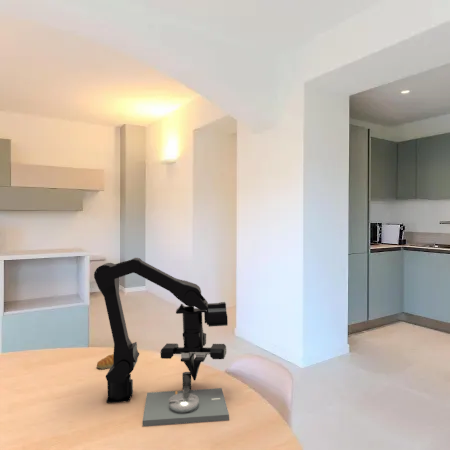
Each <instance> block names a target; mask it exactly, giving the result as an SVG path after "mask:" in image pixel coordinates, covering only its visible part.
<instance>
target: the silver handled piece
mask: <svg viewBox="0 0 450 450" xmlns="http://www.w3.org/2000/svg"><path fill="white" fill-rule="evenodd" d="M181 374H182V375H181V376H182V390H183V393H179V394H176V395H173V396H172V397H170V399H169V408H170V409H171V410H172V411H174V412H178V413H186V412H191V411H193V410H195V409H197V408H198V406H199V398H198V396H196V395H195V394H191V393H189V390H192V375H191V373H190V371H183V372H182V373H181Z"/></svg>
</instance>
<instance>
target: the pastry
mask: <svg viewBox="0 0 450 450" xmlns="http://www.w3.org/2000/svg"><path fill="white" fill-rule="evenodd" d="M113 354H114V353H112V354H109V355H107V356H106V357H104V358H102V359H100V360H99V361H98V362H97V363H96V368H98V369H101V370H107V369H106V368H108V369H110V368H111V367H112V365H113V364H114V363H113Z"/></svg>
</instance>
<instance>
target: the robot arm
mask: <svg viewBox="0 0 450 450" xmlns="http://www.w3.org/2000/svg"><path fill="white" fill-rule="evenodd" d="M93 273H94V274H93V277H94V280H95V283H96V286H97V289H98V290H99V291H100V293H101V294H102V296H103V298H104V302H105V308H106V312H107V317H108V321H109V327H110V331H111V334H112V339H113V353H112V354H113V363H114V364H113V365H112V367H111V368H109V369H108V371H107V373H106V375H105V379H106V382H107V397H106V401H105V402H106V403H107V404H112V403H114V404H115V403H128V402H130V401H131V398H132V397H133V394H134V379H133V378H132V376H131V373H132V372H133V370H134V369H135V367H136V364H137V363H138V360H139V357H140V353H139V351H138V343H137V341H135V342H132V341H131V339H130V338H129V337H130V336H129V333H128V329H127V324H126V323H127V322H126V320H125V315H124V310H123V305H122V300H121V296H120V278H121V277H125V276H127V275H130V274H136V275H138V276H140V277H142V278H144V279H145V280H147V281H149V282H151V283H153V284H155V285H157V286H159V287H161V288H163V289H164V290H166V291H169V292H170V293H171V294H172V295H173V296H174V297H175V298H176V299H177V300H179V301H180V302H181V303H180V305H179V306H178V308H176V310H175V314H182V340H183V346H179V344H178V343H169V342H168V343H166V344H165V345H164V346H163V347H162V348H161V349H160V352H159V353H160V358H161V360H162V359H167V360H168V359H169V360H171V359H172V358H173V356H175V355H181V358H180V362H183V363H184V364H185V366H186V368H187V369H188V372H190V373H191V379H193V381H195V382H196V379H197V377H198V373H199V369H200V365H201V363H203V362H205V360H206V359H207V356H208V355H209V357H210V358H211V359H212V360H224V359H225V357H226V355H227V346H226V344H225V343H212V344H211V347H205V346H206V345H207V333H205V332H204V328H203V316H204V324H206V325H207V326H208V327H210V328H211V327H212V328H213V327H224V326H225V327H226V326H228V323H229V322H228V312H227V303H226V302H225V301H222V302H221V301H220V302H214V303H212V302H211V303H208V301H207V299H206V298H205V297H204V296H203V295H202V290H201V287H200V286H199V285H198V284H197V283H193V282H191V281H188V280H183V279H179V278H176V277H175V276H172V275H171V274H168V273H166V272H164V271H163V270H160V269H158V268H157V267H155V266H153V265H151V264H149V263H147V262H145V261H144V260H143V259H142V258H139V257H133V258H131V259H130V260H125V261H122V262H118V263H113V262H106V263H104V264H102V265H99V266H98V267H96V269H95V270H94V272H93ZM203 313H204V314H203ZM131 378H132V379H131Z"/></svg>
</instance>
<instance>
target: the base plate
mask: <svg viewBox="0 0 450 450" xmlns="http://www.w3.org/2000/svg"><path fill="white" fill-rule="evenodd" d="M179 393H183V389H182V390H167V391H151V392H146V397H145V403H144V410H143V414H142V415H143V416H142V427H157V426H168V425H169V426H171V425H182V424H183V425H184V424H185V425H186V424H195V423H199V424H200V423H208V422H209V423H210V422H211V423H212V422H225V421H226V422H227V421H230V413H229V410H228V406H227V403H226V399H225V398H226V397H225V395H224V391H223V388H222V387H219V388H218V387H215V388H203V389H202V388H199V389H191V390H189V393H191V394H195V395H196V396H198V398H199V406H198V408H197V409H195V410H193V411H191V412H186V413H178V412H174V411H172V410H171V409H170V408H169V399H170V397H172V396H173V395H176V394H179Z"/></svg>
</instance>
